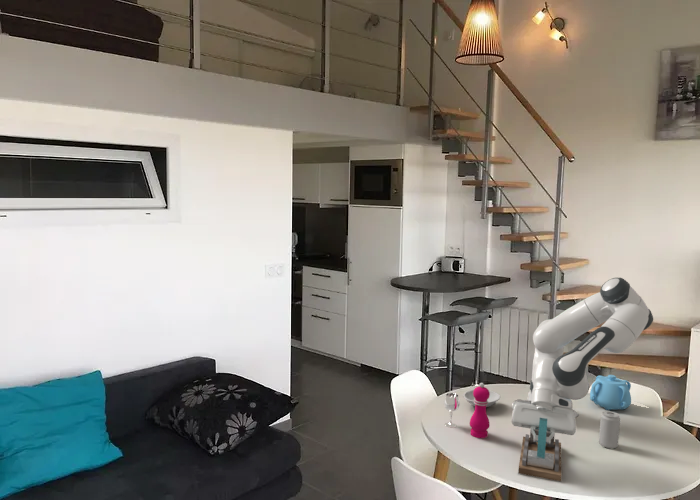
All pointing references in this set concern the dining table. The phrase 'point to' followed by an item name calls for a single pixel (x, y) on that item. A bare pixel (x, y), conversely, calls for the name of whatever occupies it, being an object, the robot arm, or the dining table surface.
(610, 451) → the dining table surface
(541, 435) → the track slider block
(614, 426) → the beverage can
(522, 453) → the tray
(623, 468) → the dining table surface
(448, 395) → the wineglass
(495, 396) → the dish
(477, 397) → the pepper mill
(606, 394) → the decorative pot
